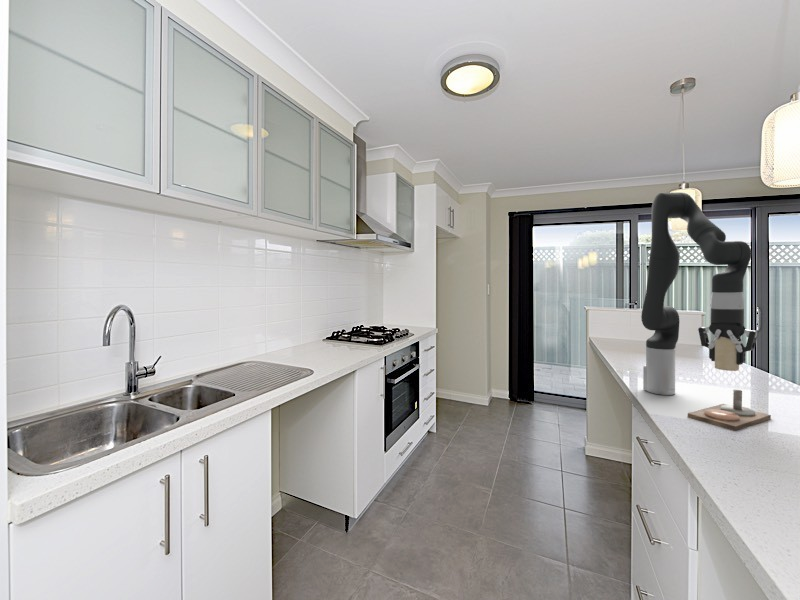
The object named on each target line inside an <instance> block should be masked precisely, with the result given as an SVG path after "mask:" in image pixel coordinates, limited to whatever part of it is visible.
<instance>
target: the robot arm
mask: <svg viewBox="0 0 800 600" xmlns="http://www.w3.org/2000/svg"><path fill="white" fill-rule="evenodd" d="M651 204H652V205H651V241H650V252H649V259H648V273H647V282H646V291H645V296H644V300H643V304H642V310H641V316H640V317H641V322H642V323H641V324H642V325H643V327H644V328H645V329H647V330H649V331H654V333H653V334H652V336H650V337H648V338H647V339H646V342H645V365H643V368H642V369H643V370H642V371H643V375H642V376H643V378H642V379H643V381H642V384H643V385H642V386H643V390H644V391H646V392H649V393H652V394H655V395H661V396H662V395H663V396H672V395H675V394H676V354H677V353H676V351H677V350H676V347H677V346H676V344H677V343H678V341H679V335H680V315H679V314H680V313H679V312H678V310H677V309H675V307H673V306H671V305H665V304H664V303H665V298H666V294H667V292H668V290H669V288H670V287H671V285H672V284H673V283H674V280H676V277H677V275H678V273H679V267H680V259H681V255H680V250H679V248H678V247H677V245H676V243H675V242H674V240H673V238H672V236H671V234H670V230H669V219H681V220H683V221H685V222H686V223H687V226H686V232H687V234H688V236H689V238H690V239H691V240H692V241H693V242H694V243H696V245H698V246H699V248H700V250H701V252H702V254H703V257H704V259H705V261H706V262H707V263H709V264H711V265H714V266H725V265H726V266H727V267H726V269H725V270H724V271H723V272H719V273H715V274H714V275H713V276H712V279H711V296H710V297H711V298H710V325H709V326H707V327H706V326H702V327H701V326H700V327H698V329H697V331H698V334H699V339H700V340H699V341H700V344H701V346H702V347H706V348H707V349H708V350H709V351H708V357H709V359H710V360H711V362H715V341H716V340H717V339H718V338H720V337H726V338H728V339H731V341H732V342H733V343H734V345H736V349H737V351H738V352H737V364H738V365H739V366H742V365H743V364H744V363H745V362H746V353H747V352H750V351H753V350H755V347H756V344H757V343H756V342H757V340H758V336H759V330H751V329H746V327H745V297H744V277H745V275H746V272H747V269H748V267H749V264H750V261H751V258H752V249H751V246H750V245H749V244H748V243H747V242H746V241H741V240H735V241H734V240H732V241H726V239H727V236H726V233H725V232H724V231H723V229H721V228H720V227H718V226H717V225H716V224H715V223H714V222H713V221H711V220H710V219H709V218H708V217H707V216H706V215H705V213H704V212H703V211H702V209H701V208H700V206H699V205H698V204H697V202H696V201H695V200H694V199H693V197H692V196H691V195H690V194H688V193H685V192H660V193H657V194H656V195H655V196H654V199H653V201H652V203H651ZM710 332H711V334H712V335H713V337H712V338H711V340H710V339H709V333H710ZM744 334H745V336H746V338H747V340H746V345H745V343H744V341H743V339H742V336H743V335H744ZM734 340H735V341H734Z"/></svg>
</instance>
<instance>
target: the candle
mask: <svg viewBox="0 0 800 600" xmlns="http://www.w3.org/2000/svg"><path fill="white" fill-rule="evenodd" d="M734 341H735V340H734ZM737 352H738V351H737V349H736V345H734V343H733V342H732V341H731V339H728V338H726V337H720V338H718V339H717V340H716V341H715V361H714V368H715V369H716V370H720V371H721V370H722V371H729V372H737V371H740V365H738V364H737Z"/></svg>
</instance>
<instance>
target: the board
mask: <svg viewBox="0 0 800 600" xmlns="http://www.w3.org/2000/svg"><path fill="white" fill-rule="evenodd" d="M732 391H733V393H732V395H733V397H732V398H733V399H732V402H733V403H732V404H726V403H721V404H718V405H713V406H709V407H706V408H702V409H698V410H694V411H691V412H688V413H687V418H690V419H694V420H696V421H697V420H698V421H701V422H704V423H707V424H711V425H715V426H718V427H721V428H725V429H728V430H732V431H737V430H741V429H744V428H747V427H750V426H753V425H756V424H759V423H763V422H765V421H768V420H771V419H772V417H771V416H772V415H771V414H768V413H764V412H759V411H756V410H754V409H752V408H749V407H744V406H743V390H742V389H736V388H735V389H733V390H732ZM707 409H717V410H724V411H729V412H732V413H735V414H737V415H739V420H738V421H725V420H719V419H715V418H711V417H709V416H707V415H705V410H707Z"/></svg>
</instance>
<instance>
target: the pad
mask: <svg viewBox="0 0 800 600" xmlns="http://www.w3.org/2000/svg"><path fill="white" fill-rule="evenodd" d="M705 415H707V416H709V417H711V418H715V419H719V420H725V421H738V420H739V415H737V414H735V413H732V412H729V411H724V410H717V409H707V410H705Z"/></svg>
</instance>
